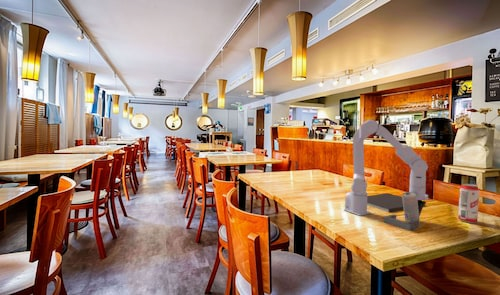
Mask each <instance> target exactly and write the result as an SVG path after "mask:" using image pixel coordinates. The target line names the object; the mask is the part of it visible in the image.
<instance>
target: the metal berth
mask: <svg viewBox="0 0 500 295" xmlns="http://www.w3.org/2000/svg"><path fill="white" fill-rule="evenodd" d="M383 223H385V224H389V225H390V226H394V227H397V228H400V229H403V230H405V231H407V232H410V231H414V230H417V229H419V228H420V221H419V222H418V221H414V222H411V223H409V222H407V221H402V220H400V219H397V214H394V213H393V214H390V215H385V216H384V217H383Z"/></svg>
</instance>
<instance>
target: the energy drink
mask: <svg viewBox="0 0 500 295" xmlns="http://www.w3.org/2000/svg"><path fill="white" fill-rule="evenodd" d="M401 197H402V201H403V209H404V210H403V216H404V217H403V218H404V220H405V222H406V223H411V222H414V221H418V222H419V223H420V217H419V210H418V201H417V195H416V194H415V193H413V192H409V191H406V192H402V194H401Z"/></svg>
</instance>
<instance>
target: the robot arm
mask: <svg viewBox="0 0 500 295" xmlns="http://www.w3.org/2000/svg"><path fill="white" fill-rule="evenodd" d="M373 134H375V135H376V136H379V137H382V138H383V139H384V140H385V141H386V142H387V143H388V144H390V145H391V146H392V147H393V148H395V149H394V150H395V155H397V156H398V158H400V159H401V160H402V161H403V162H404V163H405V164H407V165H408V166H409V168H410V175H409V191H408V192H413V193H415V194H416V195H417V201H418V210H419V218H420V216H421V213H422V211H423V208H424V207H425V206H426V204H427V200H429V194H426V185H427V184H426V183H427V182H426V180H427V175H426V174H427V172H426V171H427V170H428V169H429V166H428V163H427V162H426V161H425V160H424V159H423V158H422V156H421V154H418V153H417V152H415V151H414V150H413V147H412V146H411V145H408V144H402V143H401V142H400V141H399V140H398V139H397V138H396V137H395V136H394V135H393V134H392V133H391V132H390V130H388V129H387V128H386V127H384V126H383V125H381V124H380V123H378V122H377V121H376V120H374V119H367V120H365V121H363V123H361V124H360V125H359V127H358V129H357V130H356V132H355V133H354V134H353V136H352V152H353V153H352V156H353V159H352V160H353V182H352V185H351V186H350V188H351V191H348V192H347V193H346V195H345V196H344V197H345V199H344V202H345V203H344V208H343V211H344V212H348V213H352V214H353V215H358V216H359V217H361V216H365V215H369V214H372V212H371V211H370V210H369V211H368V205H367V196H369V194H368V193H367V187H368V183H367V181H366V175H365V153H364V152H365V149H364V147H365V146H364V145H365V144H364V143H365V142H364V141H365V140H366V139H367V138H368V137H369V136H371V135H373ZM424 205H425V206H424Z"/></svg>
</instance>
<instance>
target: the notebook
mask: <svg viewBox="0 0 500 295" xmlns="http://www.w3.org/2000/svg"><path fill="white" fill-rule="evenodd" d="M425 206H426V204H425V205H424V207H425ZM367 207H371V208H375V209H377V210H381V211H383V212H388V213H392V212H399V211H402V210H403V211H404V209H403V201H402V195H401V196H400V195H397V194H392V193H387V192H386V193H380V194H372V195H367Z"/></svg>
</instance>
